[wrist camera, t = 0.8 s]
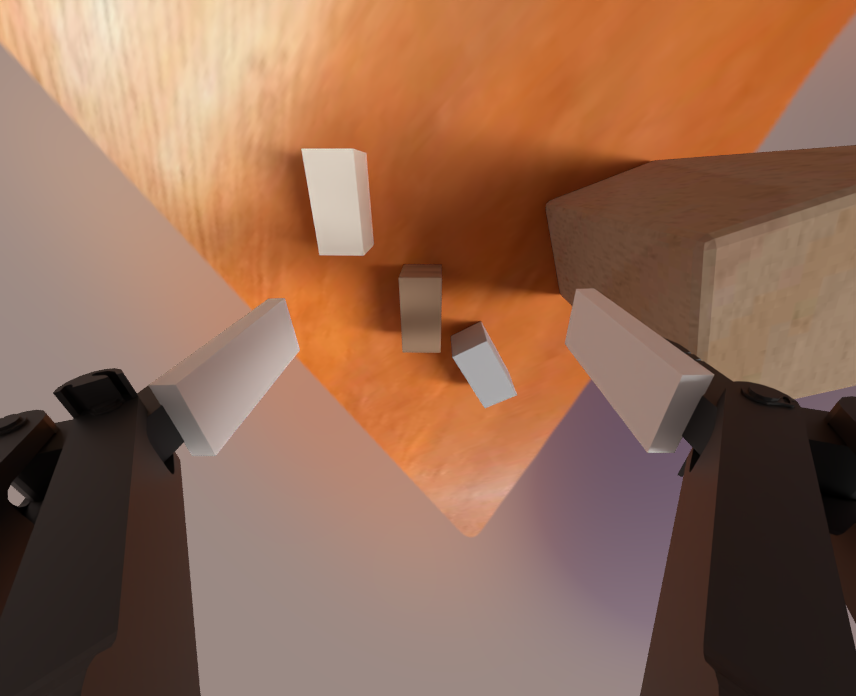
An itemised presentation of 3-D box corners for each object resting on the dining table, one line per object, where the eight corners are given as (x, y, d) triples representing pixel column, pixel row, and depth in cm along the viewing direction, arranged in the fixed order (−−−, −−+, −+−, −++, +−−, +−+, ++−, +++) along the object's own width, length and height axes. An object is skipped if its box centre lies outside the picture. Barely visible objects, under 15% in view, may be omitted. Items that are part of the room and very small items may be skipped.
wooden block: (559, 296, 33) (691, 425, 16) (542, 202, 29) (702, 240, 11) (657, 264, 31) (930, 373, 14) (656, 158, 27) (1059, 124, 9)
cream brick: (322, 153, 27) (301, 148, 23) (366, 153, 27) (353, 148, 23) (335, 244, 31) (319, 255, 27) (374, 244, 31) (363, 255, 27)
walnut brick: (403, 264, 32) (398, 277, 28) (441, 264, 32) (442, 277, 28) (406, 331, 36) (402, 352, 32) (440, 331, 36) (440, 352, 32)
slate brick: (450, 335, 36) (452, 357, 32) (480, 320, 35) (487, 340, 31) (479, 382, 40) (484, 408, 35) (508, 370, 38) (517, 395, 34)
